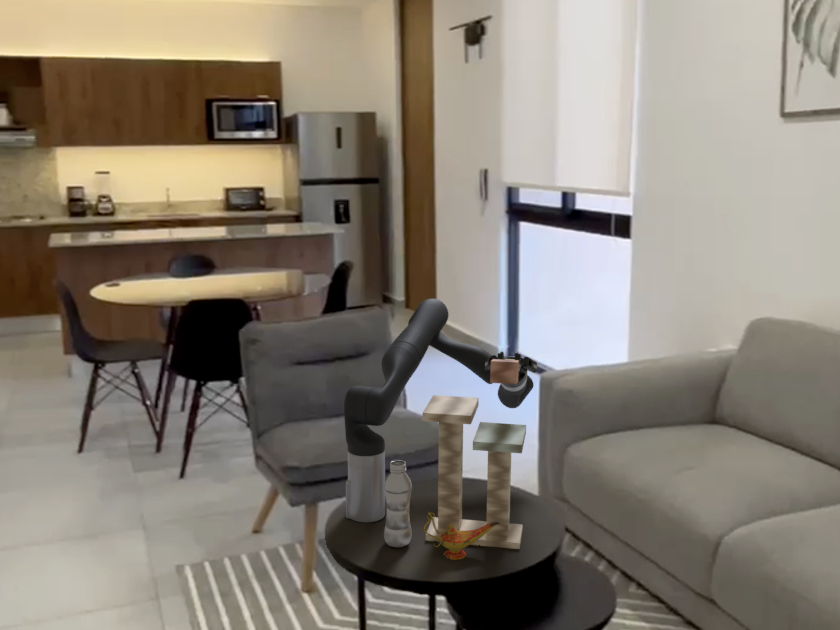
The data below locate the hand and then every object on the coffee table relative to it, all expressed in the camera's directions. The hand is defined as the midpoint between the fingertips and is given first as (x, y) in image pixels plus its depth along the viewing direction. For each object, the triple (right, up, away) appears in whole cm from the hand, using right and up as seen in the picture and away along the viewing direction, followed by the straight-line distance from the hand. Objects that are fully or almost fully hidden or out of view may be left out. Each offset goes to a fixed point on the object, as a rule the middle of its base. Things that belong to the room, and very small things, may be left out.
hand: (508, 355), depth 208 cm
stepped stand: (-9, -43, -5) cm, 44 cm away
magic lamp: (-12, -45, -14) cm, 48 cm away
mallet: (-1, -5, -3) cm, 6 cm away
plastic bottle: (-27, -44, -9) cm, 52 cm away
